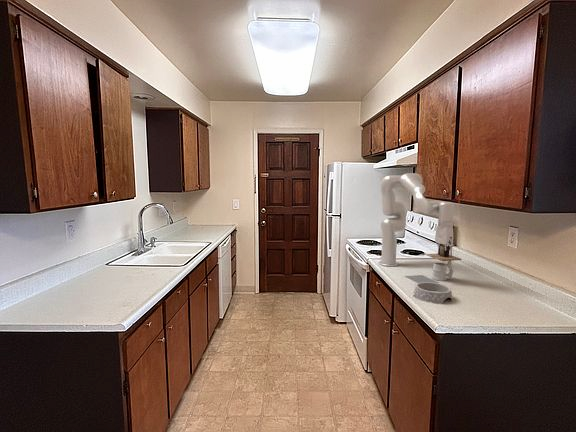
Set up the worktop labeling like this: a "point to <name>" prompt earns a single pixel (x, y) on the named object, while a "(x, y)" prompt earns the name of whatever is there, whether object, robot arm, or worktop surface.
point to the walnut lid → (443, 255)
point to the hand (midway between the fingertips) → (443, 255)
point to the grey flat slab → (420, 279)
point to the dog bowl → (430, 296)
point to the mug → (441, 271)
